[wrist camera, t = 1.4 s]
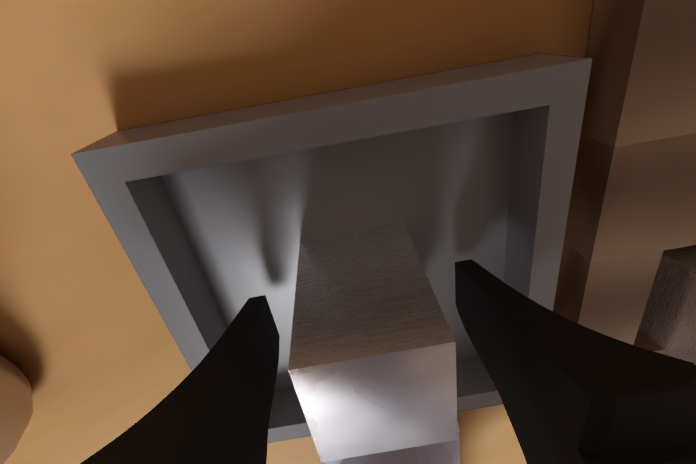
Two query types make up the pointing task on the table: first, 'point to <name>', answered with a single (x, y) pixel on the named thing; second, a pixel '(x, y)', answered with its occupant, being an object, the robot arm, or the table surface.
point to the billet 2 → (673, 304)
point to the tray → (349, 197)
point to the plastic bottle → (13, 407)
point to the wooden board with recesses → (631, 165)
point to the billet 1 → (370, 346)
